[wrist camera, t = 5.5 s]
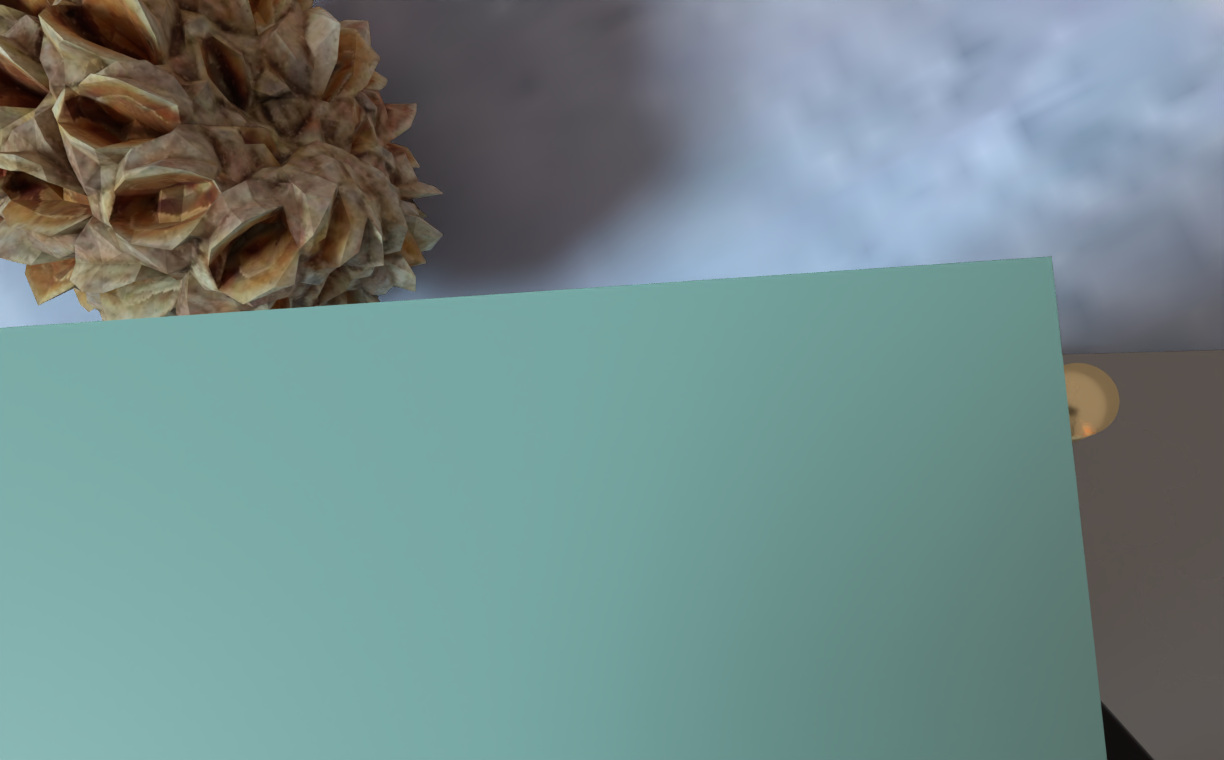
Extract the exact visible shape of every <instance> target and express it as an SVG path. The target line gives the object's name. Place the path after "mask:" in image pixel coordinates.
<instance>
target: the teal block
mask: <svg viewBox="0 0 1224 760" xmlns="http://www.w3.org/2000/svg"><path fill="white" fill-rule="evenodd" d="M0 760H1107V755H1106V746H1105V737H1104V728H1103V719H1102V710H1101V701H1100V692H1099V683H1098V673H1097V664H1096V655H1095V646H1094V637H1093V628H1092V619H1091V610H1090V601H1089V592H1088V583H1087V574H1086V565H1085V556H1084V546H1083V537H1082V528H1081V519H1080V510H1079V501H1078V492H1077V483H1076V474H1075V465H1074V456H1073V447H1072V438H1071V428H1070V419H1069V410H1068V401H1067V392H1066V383H1065V374H1064V365H1063V356H1062V347H1061V338H1060V329H1059V320H1058V311H1057V301H1056V292H1055V283H1054V274H1053V265H1052V256H1051V257H1036V258H1022V259H1007V260H992V261H978V262H963V263H948V264H933V265H919V266H904V267H889V268H875V269H860V270H845V271H830V272H816V273H801V274H786V275H772V276H757V277H742V278H727V279H713V280H698V281H683V282H668V283H654V284H639V285H624V286H610V287H595V288H580V289H565V290H551V291H536V292H521V293H507V294H492V295H477V296H462V297H448V298H433V299H418V300H404V301H389V302H374V303H359V304H345V305H330V306H315V307H300V308H286V309H271V310H256V311H242V312H227V313H212V314H197V315H183V316H168V317H153V318H139V319H124V320H109V321H94V322H80V323H65V324H50V325H36V326H21V327H6V328H0Z"/></svg>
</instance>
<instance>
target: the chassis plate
mask: <svg viewBox="0 0 1224 760" xmlns="http://www.w3.org/2000/svg"><path fill="white" fill-rule="evenodd" d="M1062 356H1063V365H1064V374H1065V383H1066V392H1067V401H1068V410H1069V419H1070V428H1071V438H1072V447H1073V456H1074V465H1075V474H1076V483H1077V492H1078V501H1079V510H1080V519H1081V528H1082V537H1083V546H1084V556H1085V565H1086V574H1087V583H1088V592H1089V601H1090V610H1091V619H1092V628H1093V637H1094V646H1095V655H1096V664H1097V673H1098V683H1099V692H1100V700H1101V701H1102V702H1103V703H1104V704H1105V705H1106V707H1107V708H1108V709H1109V710H1110V711H1111V712H1112V713H1113V714H1114V715H1115V717H1116V718H1117V719H1118V720H1119V721H1120V722H1121V723H1122V724H1123V725H1124V727H1125V728H1126V729H1127V730H1128V731H1129V732H1130V733H1131V734H1132V735H1133V737H1134V738H1135V739H1136V740H1137V741H1138V742H1139V743H1140V744H1141V745H1142V747H1143V748H1144V749H1145V750H1146V751H1147V752H1148V753H1149V754H1150V755H1151V757H1152V758H1153V759H1154V760H1224V350H1201V351H1165V352H1129V353H1093V354H1062Z"/></svg>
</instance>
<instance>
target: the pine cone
mask: <svg viewBox="0 0 1224 760" xmlns="http://www.w3.org/2000/svg"><path fill="white" fill-rule="evenodd" d="M312 7H313V0H0V258H2V259H6V260H10V261H13V262H17V263H22V264H27V265H26V271H25V275H26V277H27V280H28V282H29V284H30V287H31V289H32V292H33V294H34V296H35V299H36V301H37V304H38V305H40V304H42V303H44V302H46V301H48V300H51V299H53V298H55V297H57V296H59V295H61V294H63V293H65V292H67V291H69V290H71V289H73V288H74V291H75V293H76V295H77V298H78V300H79V302H80V305H82V306H83V307H84V308H85V309H86V310H87V311H88V312H90V311H91V310H93V309H94V308H95V309H97V310H98V311H99V312H100V315H101V317H102V320H103V321H109V320H124V319H139V318H153V317H168V316H183V315H197V314H212V313H227V312H242V311H256V310H271V309H286V308H300V307H315V306H330V305H345V304H359V303H374V302H380V301H379V299H378V297H377V295H385V294H386V293H387V292H388V291H389V290H390V289H391V288H392V287H393V286H396V287H400V288H403V289H407V290H410V291H413V292H415V288H416V276H415V274H414V273H413V271H412V270H411V268H410V267H413V266H417V265H421V264H425V263H426V261H425V259H424V257H423V255H422V253H421V252H422V251H427V250H431V249H432V248H433V247H434V245H435V244H436V243H437V242H438V241H439V240H440V238H441V237H442V236H443V235H444V234H443V233H441V232H440V231H438V230H437V229H436V228H434V227H433V226H432V225H430V224H429V223H427V222H426V221H425V220H423V219H422V218H425V217H428V216H427V215H426V214H424V213H423V212H422V211H420V210H419V208H418V207H417V206H416V204H415V203H414V202H413V200H412V199H417V198H423V197H429V196H435V195H440V194H443V193H442V192H441V191H440V190H438V189H437V188H436V187H435V186H432V185H428V184H425V183H422V182H419V180H418V178H417V176H416V174H415V172H414V170H413V168H417V167H420V165H419V164H418V162H417V161H416V159H415V158H414V156H413V155H412V154H411V152H410V151H409V149H408V148H407V147H404V146H401V145H397V144H394V143H391V142H390V141H392V140H393V139H395V138H396V137H398V136H399V135H400V134H402V133H403V132H405V131H406V130H408V129H409V128H410V127H411V125H412V123H413V120H414V118H415V115H416V107H417V103H410V104H384V102H383V100H382V98H381V95H380V93H379V91H380V90H381V89H383V88H384V87H385V86H386V85H387V80H388V79H387V78H385V77H383V76H382V75H380V74H379V73H377V72H376V71H375V69H376V67H377V65H378V63H379V61H380V59H381V58H380V57H379V55H378V54H377V53H376V52H375V51H374V50H373V49H372V47H371V46H370V45H371V38H370V29H369V21H361V20H344V21H340V22H338V21H337V20H336V19H335V18H334V17H333V16H332V15H331V14H330V13H329V12H327V11H326V10H324V9H322V8H321V7H319V6H317V7H314V8H312Z"/></svg>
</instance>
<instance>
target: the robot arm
mask: <svg viewBox="0 0 1224 760" xmlns="http://www.w3.org/2000/svg"><path fill="white" fill-rule="evenodd" d="M1100 701H1101V700H1100ZM1101 710H1102V719H1103V728H1104V737H1105V746H1106V755H1107V760H1154V759H1153V758H1152V757H1151V755H1150V754H1149V753H1148V752H1147V751H1146V750H1145V749H1144V748H1143V747H1142V745H1141V744H1140V743H1139V742H1138V741H1137V740H1136V739H1135V738H1134V737H1133V735H1132V734H1131V733H1130V732H1129V731H1128V730H1127V729H1126V728H1125V727H1124V725H1123V724H1122V723H1121V722H1120V721H1119V720H1118V719H1117V718H1116V717H1115V715H1114V714H1113V713H1112V712H1111V711H1110V710H1109V709H1108V708H1107V707H1106V705H1105V704H1104V703H1103V702H1102V701H1101Z"/></svg>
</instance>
